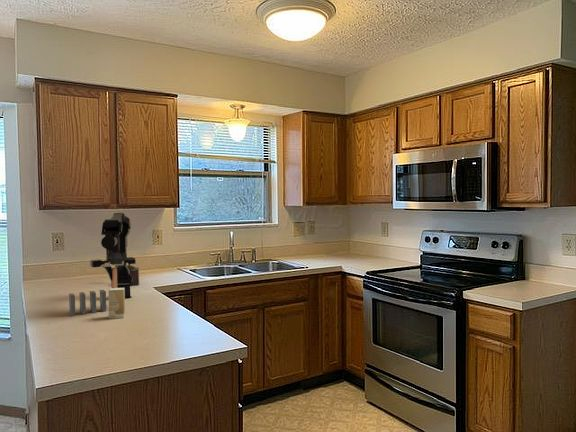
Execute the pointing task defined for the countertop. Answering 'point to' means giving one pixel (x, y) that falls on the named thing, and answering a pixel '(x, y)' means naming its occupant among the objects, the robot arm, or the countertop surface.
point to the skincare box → (116, 303)
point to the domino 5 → (114, 278)
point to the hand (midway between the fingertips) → (113, 280)
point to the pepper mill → (134, 274)
